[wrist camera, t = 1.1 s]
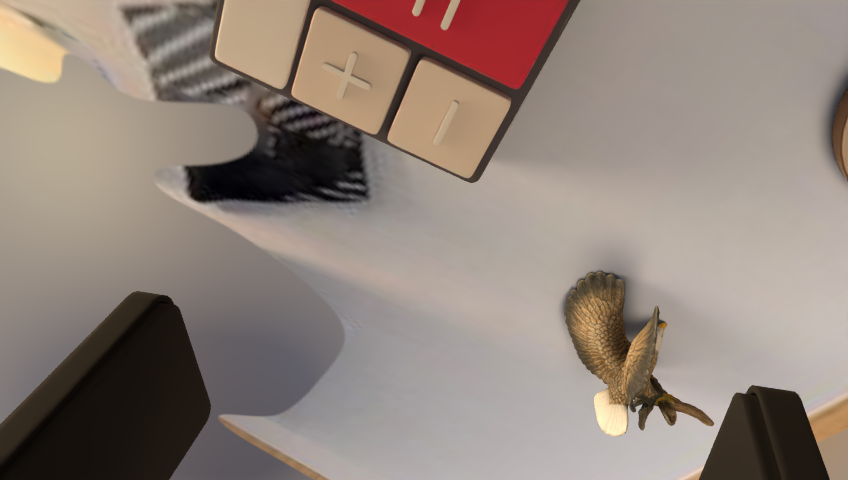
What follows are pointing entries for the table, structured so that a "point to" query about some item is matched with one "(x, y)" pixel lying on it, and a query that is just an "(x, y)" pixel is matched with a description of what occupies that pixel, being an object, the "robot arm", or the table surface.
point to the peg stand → (841, 135)
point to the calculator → (399, 65)
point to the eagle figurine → (619, 356)
